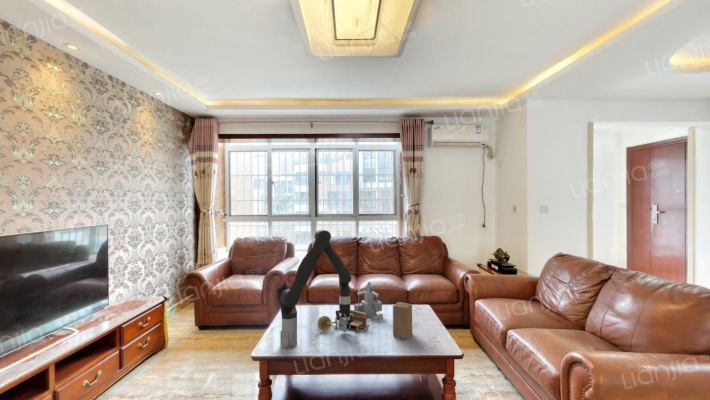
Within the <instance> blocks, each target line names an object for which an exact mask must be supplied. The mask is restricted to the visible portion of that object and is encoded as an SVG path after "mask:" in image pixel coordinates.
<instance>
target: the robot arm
mask: <svg viewBox="0 0 710 400" xmlns="http://www.w3.org/2000/svg"><path fill="white" fill-rule="evenodd" d="M331 239H332V235H331V232H330V231H328V230H325V229H319V230H317V231H316V232H315V234H314V240H315V242H314V243H313V246H312V247H311V249H310V250H309V251H308V252H307V253H306V254H305V256H304V257H303V258H302V260H301V262H300V264H299V266H298V267H297V271H296V273H295V278H294V282H293V284H292V285H291V287H290V288H287V289H284V290H283V291H282V292H281V294H280V312H281V313H280V314H281V330H279V331H280V332H279V333H280V335H279V336H280V339H279V340H280V342H279V343H280V347H281V348H284V349H286V350H288V349H289V350H290V349H292V348H295V347H297V345H298V311H297V307H296V305H297V304H298V302H299V300H300V298H301V295H302V293H303V290H304V289H305V287H306V284H307V282H308V281H309V279H310V277H311V275H313V274H312V273H313V272H314V270H315V268H316V267H317V263H319V259H320V258H321V256H322V254H323V252H324V253H325V255H326V257H327V259H328V260H329V262H330V264H331V266H332V267H333V269H334V271H335V272H336V273H337V275H338V283H339V284H338V285H339V298H338V300H339V301H338V309H337V310H335V318H337V321H339V320H341V319H343V318H345V320H346V321H347V329H348V330H350V329H351V328H350V323H352V322H353V318H354V314H351V312H350V310H351V287H350V283H351V282H352V275H351V273H350V271H349V270H348V269H347V267H346V266H345V264H344V262H343V260H342V258H341V257H340V254H338V253H337V251H336V250H335V249H334V247H333V246H332V244H331ZM349 315H350V316H349ZM349 328H350V329H349Z"/></svg>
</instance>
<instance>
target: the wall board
mask: <svg viewBox="0 0 710 400" xmlns="http://www.w3.org/2000/svg"><path fill="white" fill-rule="evenodd" d="M350 312H351V314H354V318H353V322H352V323H351V326H353V327H356V331H357V332H359V328H360V329H367V328H368V327H370V324H367V323H368V322H367V319H368V318H367V313H363V312H359V311H355V310H353V309H350ZM349 316H350V315H349Z"/></svg>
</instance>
